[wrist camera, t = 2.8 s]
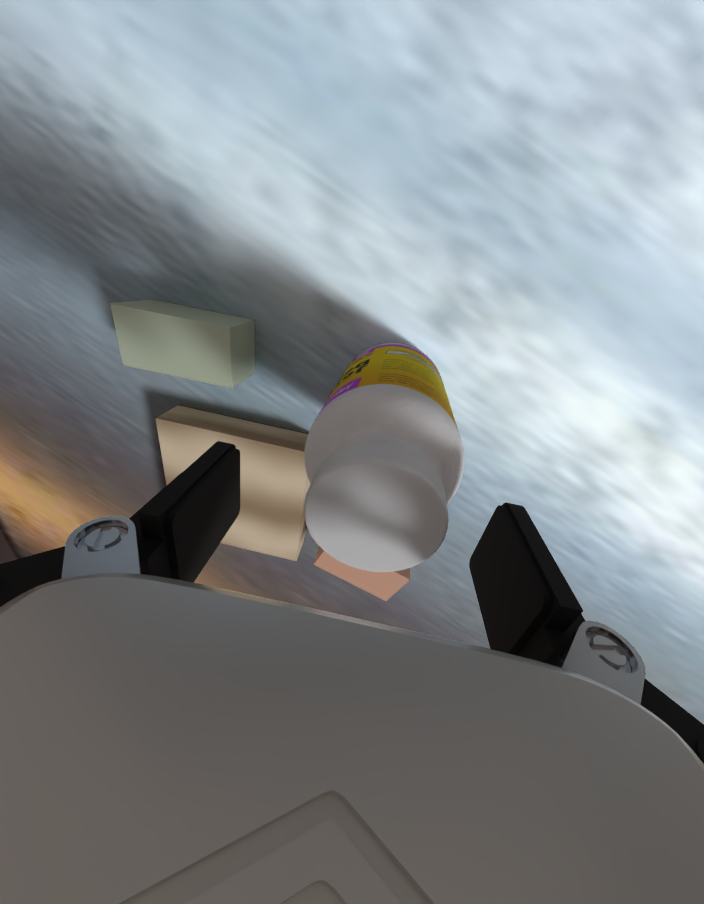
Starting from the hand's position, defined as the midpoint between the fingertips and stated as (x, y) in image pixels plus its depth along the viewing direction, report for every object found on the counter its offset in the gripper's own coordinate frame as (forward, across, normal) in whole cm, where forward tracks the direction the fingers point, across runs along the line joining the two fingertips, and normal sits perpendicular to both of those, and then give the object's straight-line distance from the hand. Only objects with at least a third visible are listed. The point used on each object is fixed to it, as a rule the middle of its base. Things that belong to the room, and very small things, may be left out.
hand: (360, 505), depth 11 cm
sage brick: (+12, +12, -2) cm, 17 cm away
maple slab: (+12, +9, +9) cm, 18 cm away
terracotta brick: (+12, -2, +13) cm, 18 cm away
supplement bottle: (+12, -1, -1) cm, 12 cm away
